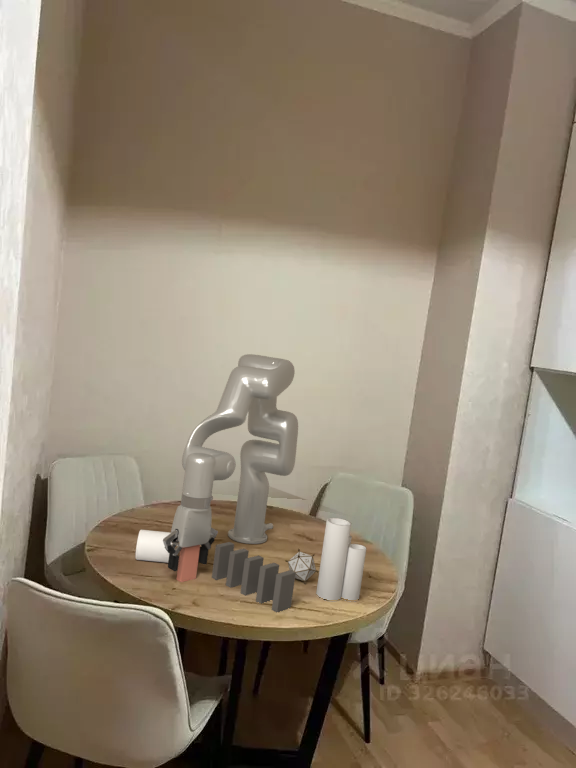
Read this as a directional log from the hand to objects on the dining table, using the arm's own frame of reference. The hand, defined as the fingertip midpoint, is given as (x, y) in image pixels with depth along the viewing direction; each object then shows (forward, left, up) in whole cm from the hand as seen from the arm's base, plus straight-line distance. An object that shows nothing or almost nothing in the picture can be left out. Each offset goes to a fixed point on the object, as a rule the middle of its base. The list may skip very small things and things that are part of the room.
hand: (187, 566), depth 166 cm
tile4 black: (-9, +14, -4) cm, 18 cm away
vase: (-28, +28, -4) cm, 40 cm away
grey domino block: (-9, +25, -4) cm, 27 cm away
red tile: (0, 0, -4) cm, 4 cm away
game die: (-27, +16, -4) cm, 32 cm away
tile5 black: (-9, +20, -4) cm, 22 cm away
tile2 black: (-9, +3, -4) cm, 11 cm away
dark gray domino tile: (-9, +9, -4) cm, 13 cm away
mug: (-2, -16, -4) cm, 17 cm away
